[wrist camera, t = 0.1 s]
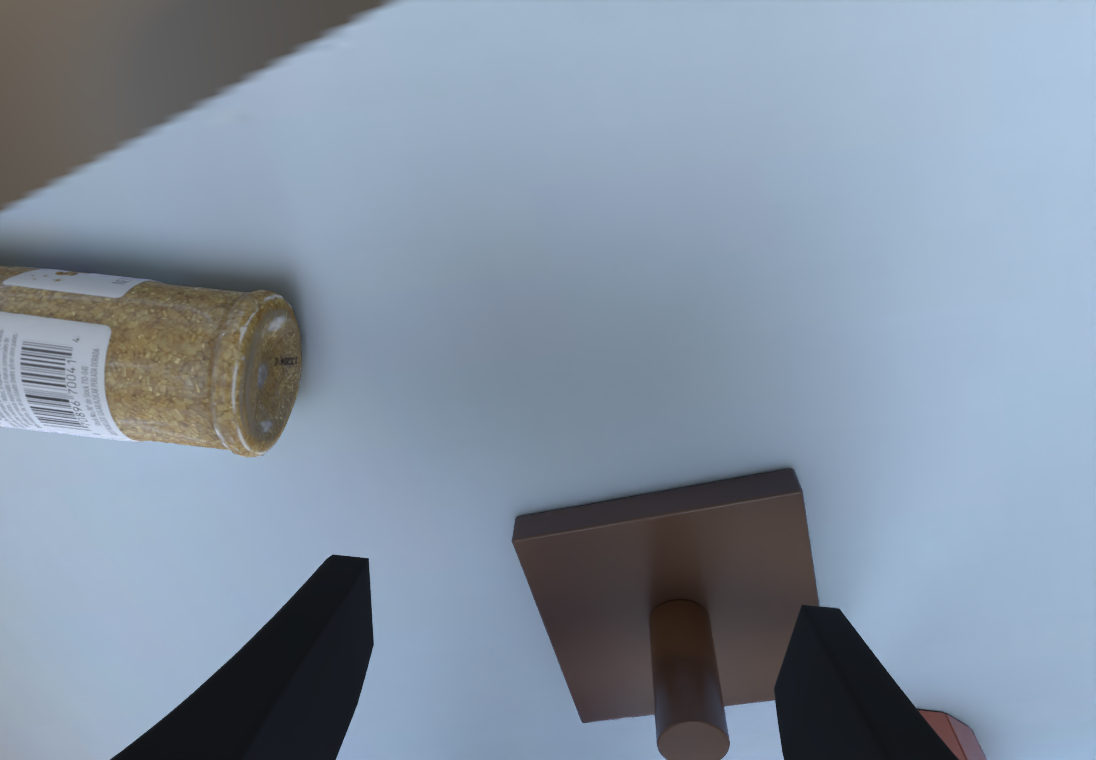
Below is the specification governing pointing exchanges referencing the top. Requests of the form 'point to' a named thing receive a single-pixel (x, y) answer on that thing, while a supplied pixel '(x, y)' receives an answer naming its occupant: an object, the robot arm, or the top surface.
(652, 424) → the top surface
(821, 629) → the robot arm
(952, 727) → the brown wooden cylinder
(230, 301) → the sprinkles bottle
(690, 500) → the peg stand
